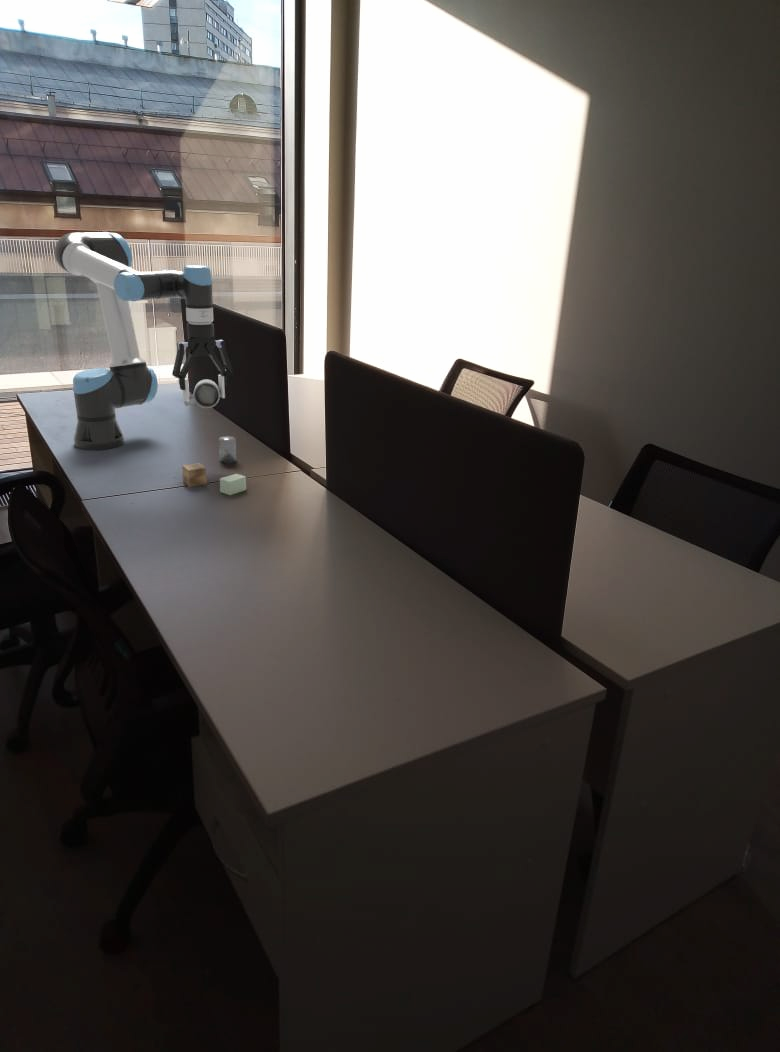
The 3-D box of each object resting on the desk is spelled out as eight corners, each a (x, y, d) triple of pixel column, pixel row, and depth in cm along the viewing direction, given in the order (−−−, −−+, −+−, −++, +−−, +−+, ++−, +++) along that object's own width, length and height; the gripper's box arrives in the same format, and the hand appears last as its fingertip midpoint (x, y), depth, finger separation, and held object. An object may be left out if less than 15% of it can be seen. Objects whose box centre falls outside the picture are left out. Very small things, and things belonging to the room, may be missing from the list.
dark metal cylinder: (223, 463, 234) (222, 441, 232) (217, 459, 238) (216, 437, 236) (238, 461, 237) (237, 439, 234) (232, 457, 241) (231, 435, 238)
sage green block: (230, 495, 210) (229, 481, 208) (220, 492, 212) (219, 478, 211) (246, 490, 214) (245, 476, 213) (236, 486, 217) (235, 473, 215)
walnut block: (189, 487, 215) (188, 470, 213) (183, 481, 219) (182, 465, 217) (206, 484, 217) (205, 467, 215) (200, 479, 221) (199, 462, 219)
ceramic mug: (219, 401, 234) (218, 376, 231) (220, 408, 227) (218, 382, 224) (184, 402, 232) (181, 377, 229) (183, 409, 224) (181, 383, 221)
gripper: (165, 326, 210) (170, 405, 219) (242, 322, 222) (245, 397, 231) (156, 322, 216) (162, 399, 225) (232, 319, 228) (235, 392, 236)
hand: (204, 398), depth 228 cm, fingers closed on ceramic mug, 10 cm apart
